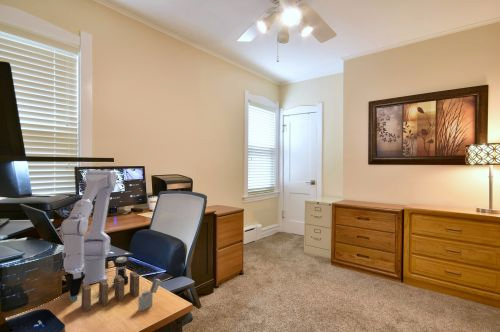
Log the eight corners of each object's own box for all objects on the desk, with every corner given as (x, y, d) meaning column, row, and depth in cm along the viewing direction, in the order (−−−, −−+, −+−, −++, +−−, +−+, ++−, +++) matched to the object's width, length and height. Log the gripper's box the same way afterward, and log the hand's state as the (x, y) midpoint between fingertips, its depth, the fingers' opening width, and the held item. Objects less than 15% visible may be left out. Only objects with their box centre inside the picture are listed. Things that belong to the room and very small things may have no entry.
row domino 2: (98, 300, 90) (99, 280, 90) (103, 299, 91) (104, 278, 91) (102, 306, 86) (102, 285, 86) (107, 305, 87) (108, 283, 87)
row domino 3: (114, 296, 93) (115, 276, 93) (119, 294, 94) (119, 275, 94) (119, 301, 90) (119, 280, 90) (124, 300, 91) (124, 279, 91)
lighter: (141, 311, 84) (141, 286, 84) (138, 309, 85) (138, 284, 85) (160, 302, 90) (160, 278, 90) (157, 300, 91) (157, 277, 91)
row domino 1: (81, 305, 87) (81, 284, 87) (87, 304, 88) (87, 282, 88) (84, 312, 83) (85, 289, 83) (90, 310, 84) (90, 288, 84)
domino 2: (129, 291, 97) (129, 272, 97) (134, 290, 98) (134, 271, 98) (134, 296, 93) (134, 276, 93) (139, 295, 94) (139, 275, 94)
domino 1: (69, 296, 93) (69, 276, 93) (74, 294, 94) (74, 275, 94) (71, 301, 89) (71, 280, 89) (77, 300, 90) (77, 279, 90)
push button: (111, 289, 98) (111, 262, 98) (107, 284, 102) (107, 258, 102) (130, 284, 102) (130, 258, 102) (125, 280, 106) (126, 255, 106)
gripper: (56, 250, 94) (56, 288, 94) (62, 261, 83) (62, 304, 83) (80, 246, 99) (79, 282, 99) (88, 256, 88) (88, 297, 88)
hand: (73, 292), depth 91 cm, fingers closed on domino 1, 5 cm apart
